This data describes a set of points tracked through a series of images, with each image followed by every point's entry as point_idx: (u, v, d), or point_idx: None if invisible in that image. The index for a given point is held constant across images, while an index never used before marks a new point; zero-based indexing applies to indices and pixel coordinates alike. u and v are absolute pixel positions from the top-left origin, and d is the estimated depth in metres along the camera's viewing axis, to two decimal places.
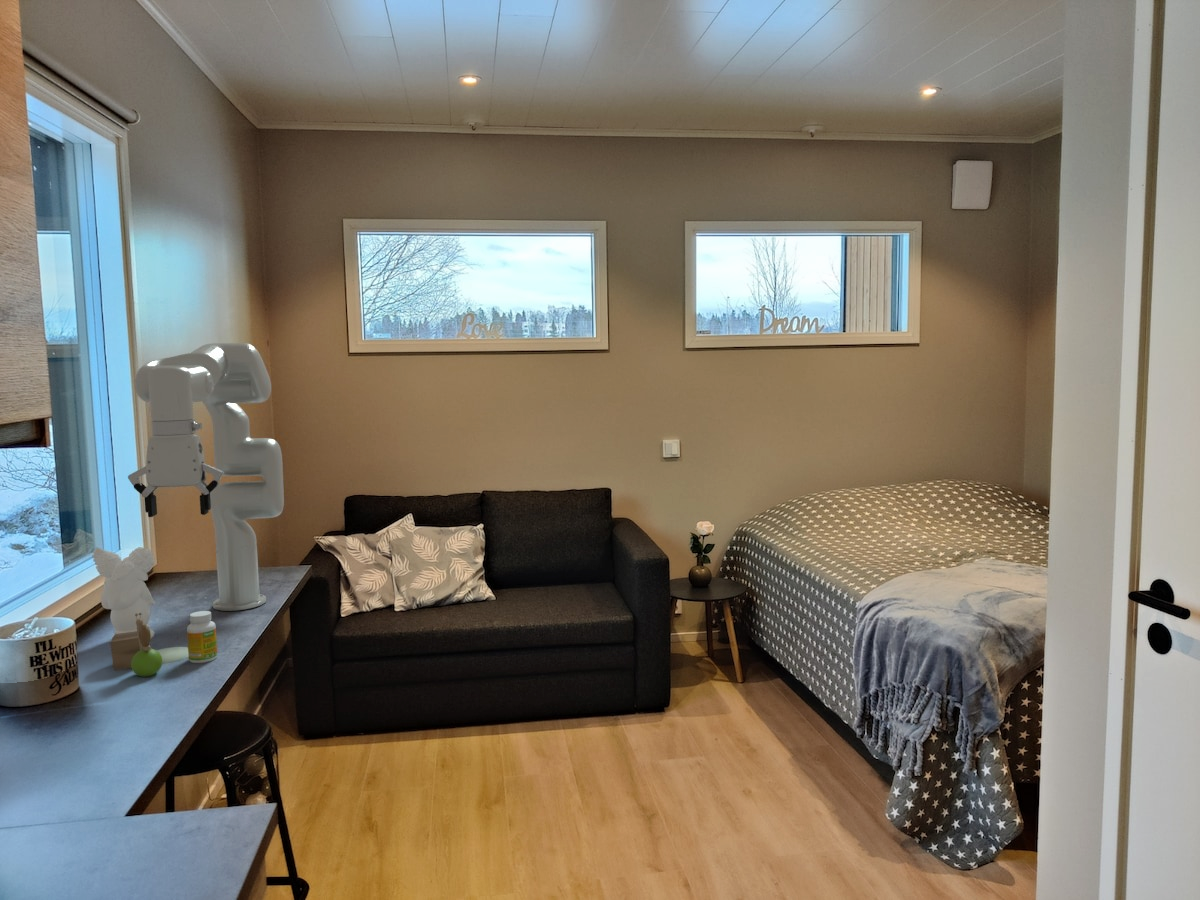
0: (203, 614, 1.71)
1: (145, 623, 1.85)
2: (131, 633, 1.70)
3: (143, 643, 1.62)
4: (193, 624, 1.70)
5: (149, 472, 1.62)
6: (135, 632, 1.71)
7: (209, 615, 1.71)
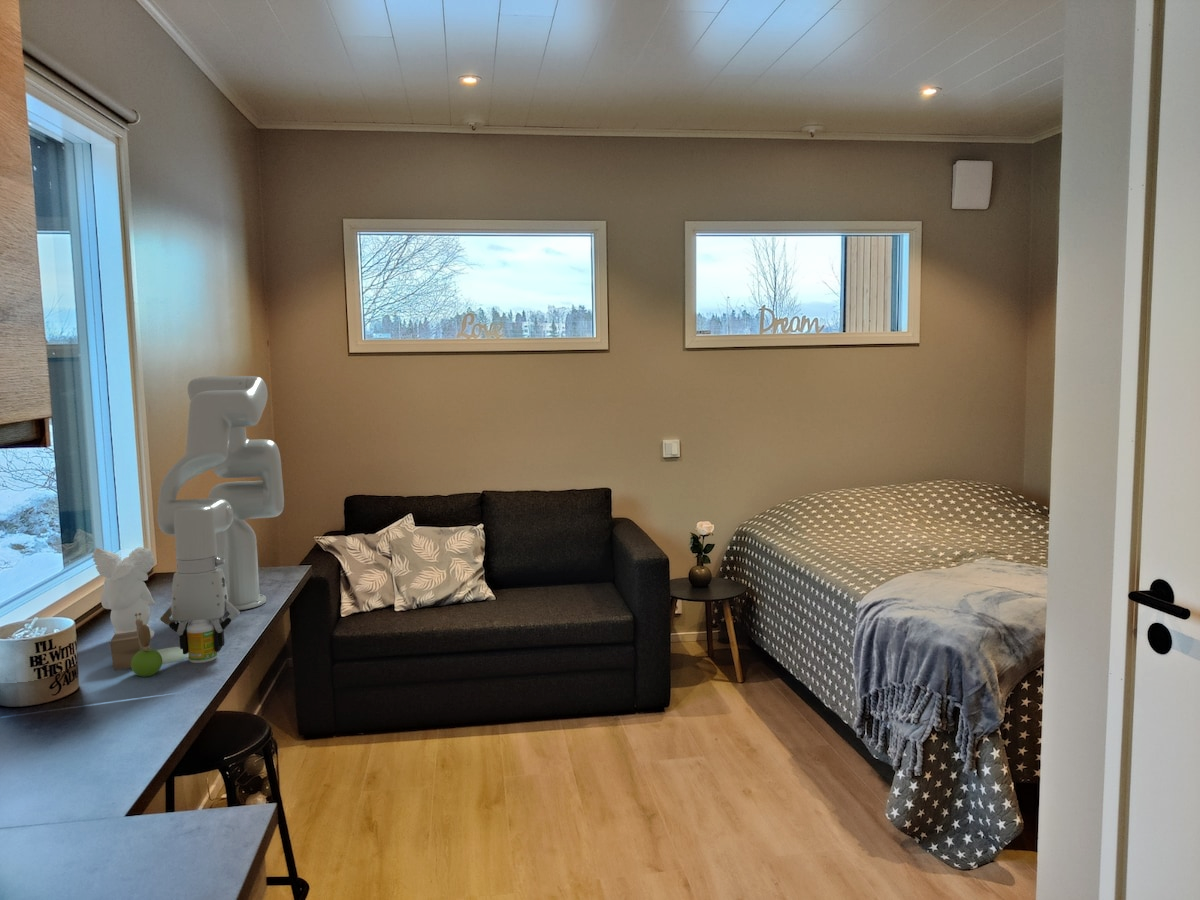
0: None
1: (145, 623, 1.85)
2: (131, 633, 1.70)
3: (143, 643, 1.62)
4: (193, 624, 1.70)
5: (174, 608, 1.68)
6: (135, 632, 1.71)
7: None
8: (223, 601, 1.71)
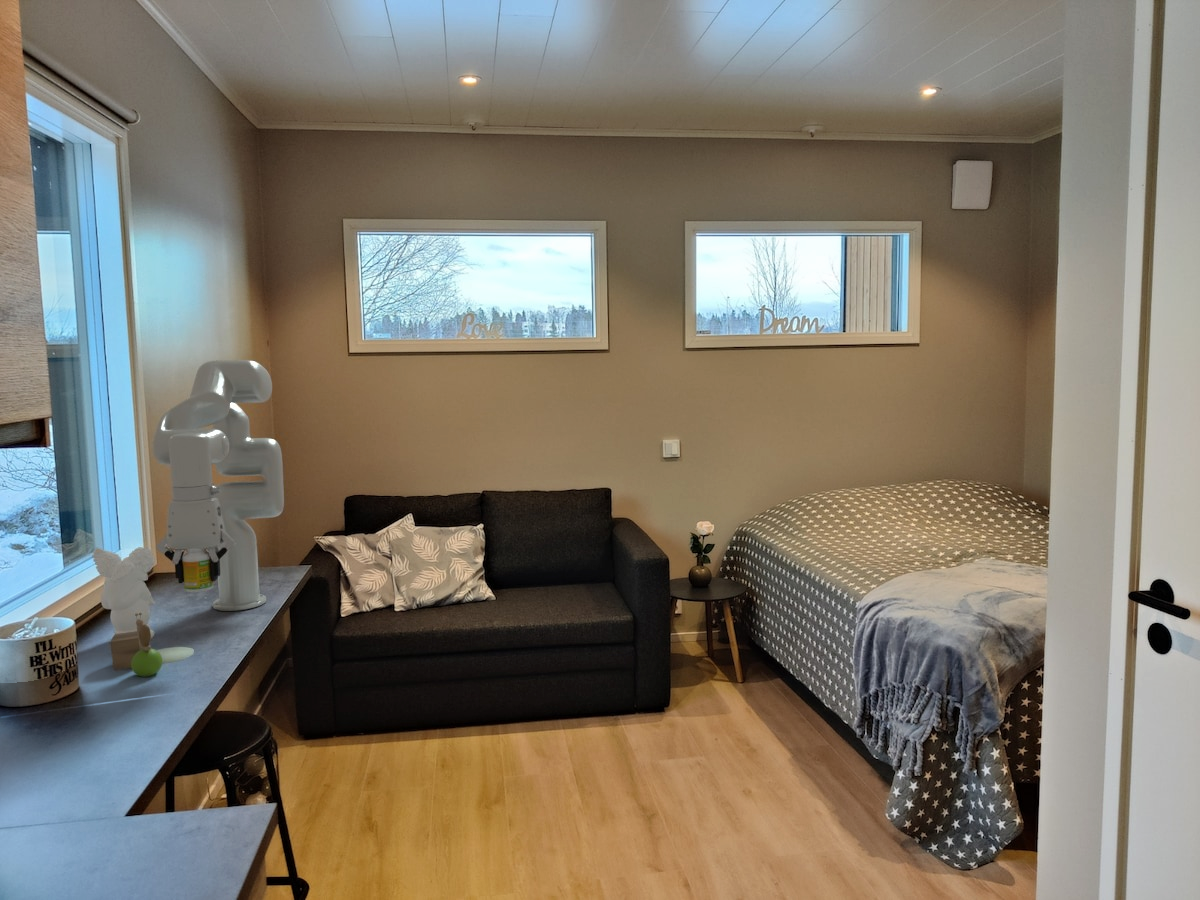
0: None
1: (145, 623, 1.85)
2: (131, 633, 1.70)
3: (143, 643, 1.62)
4: (189, 553, 1.69)
5: (170, 536, 1.67)
6: (135, 632, 1.71)
7: None
8: (219, 530, 1.69)
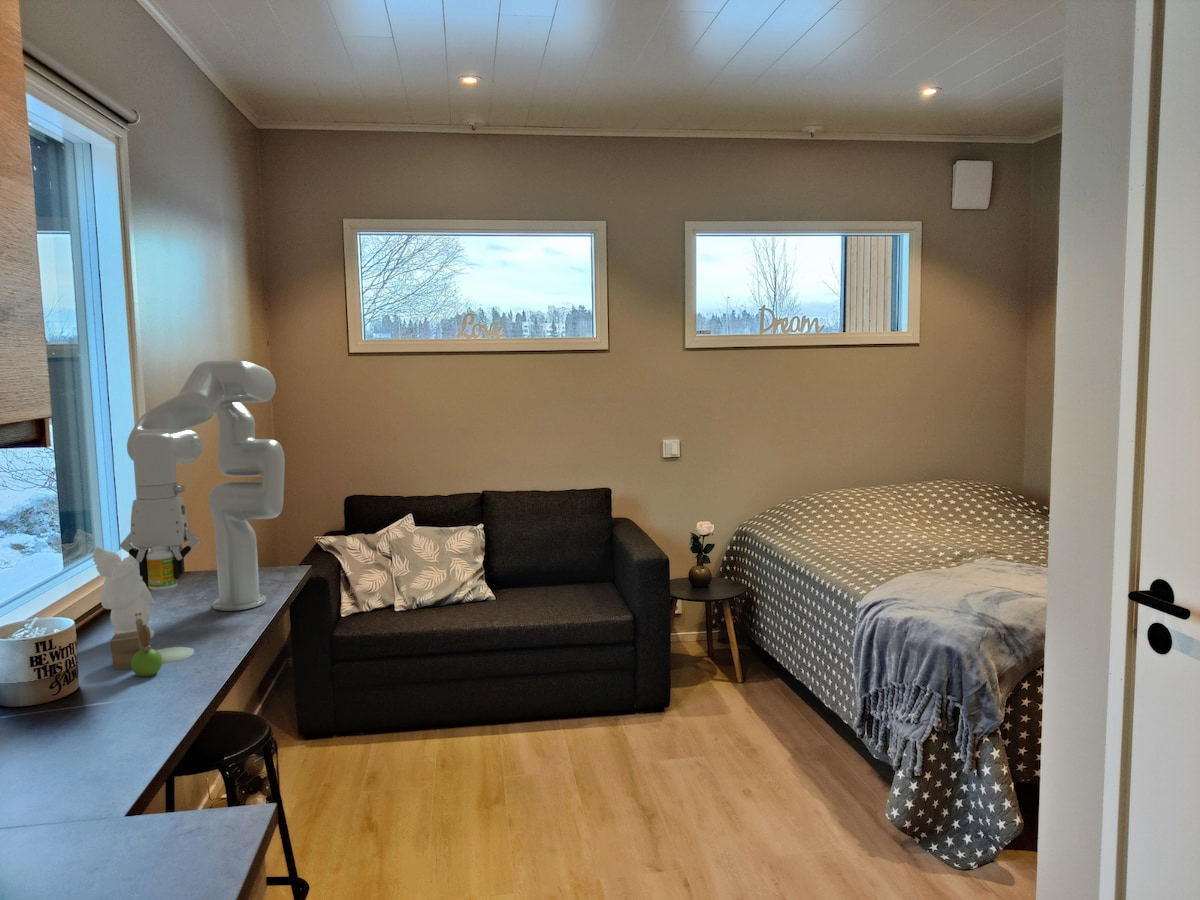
0: None
1: (145, 623, 1.85)
2: (131, 633, 1.70)
3: (143, 643, 1.62)
4: (152, 551, 1.71)
5: (133, 534, 1.69)
6: (135, 632, 1.71)
7: None
8: (182, 528, 1.71)
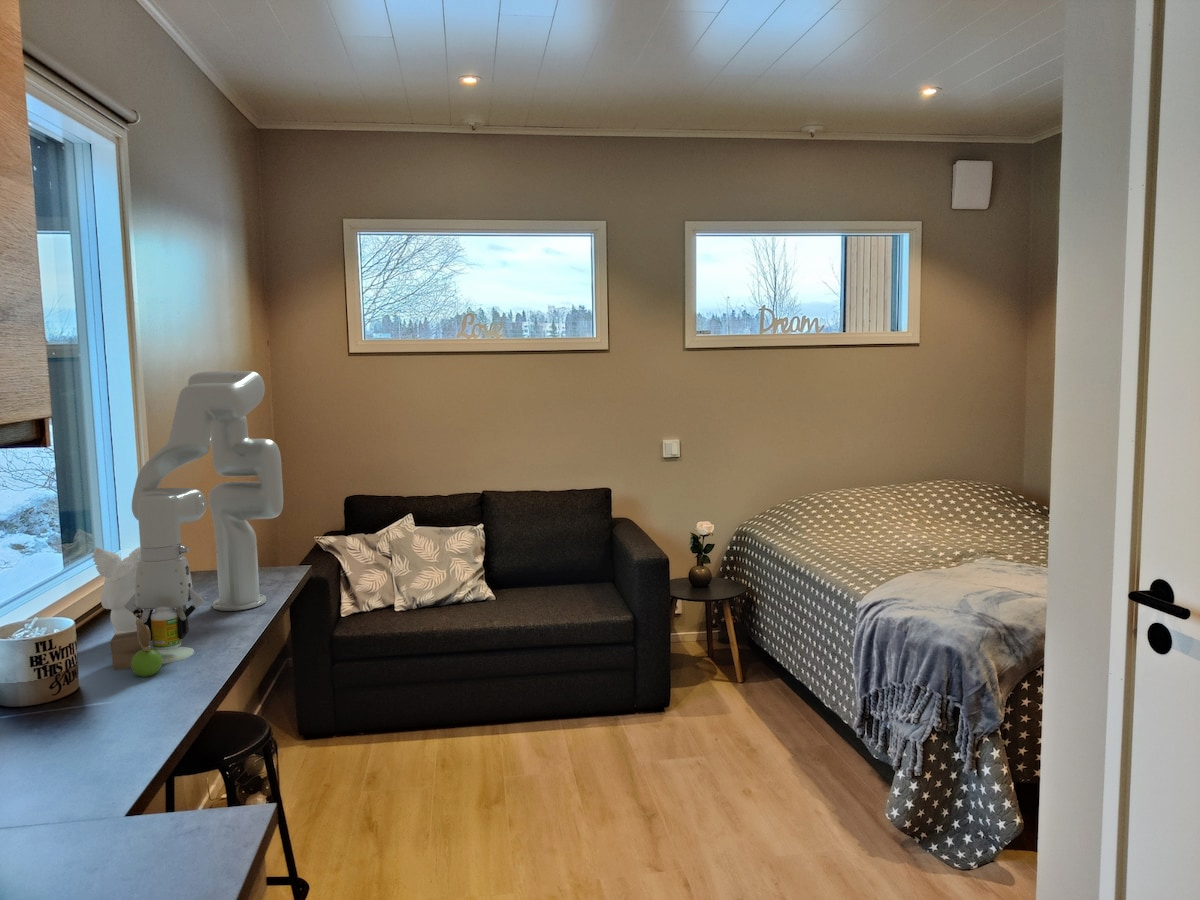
0: None
1: None
2: (131, 633, 1.70)
3: (143, 643, 1.62)
4: (157, 612, 1.72)
5: (138, 595, 1.70)
6: (135, 632, 1.71)
7: None
8: (187, 589, 1.73)
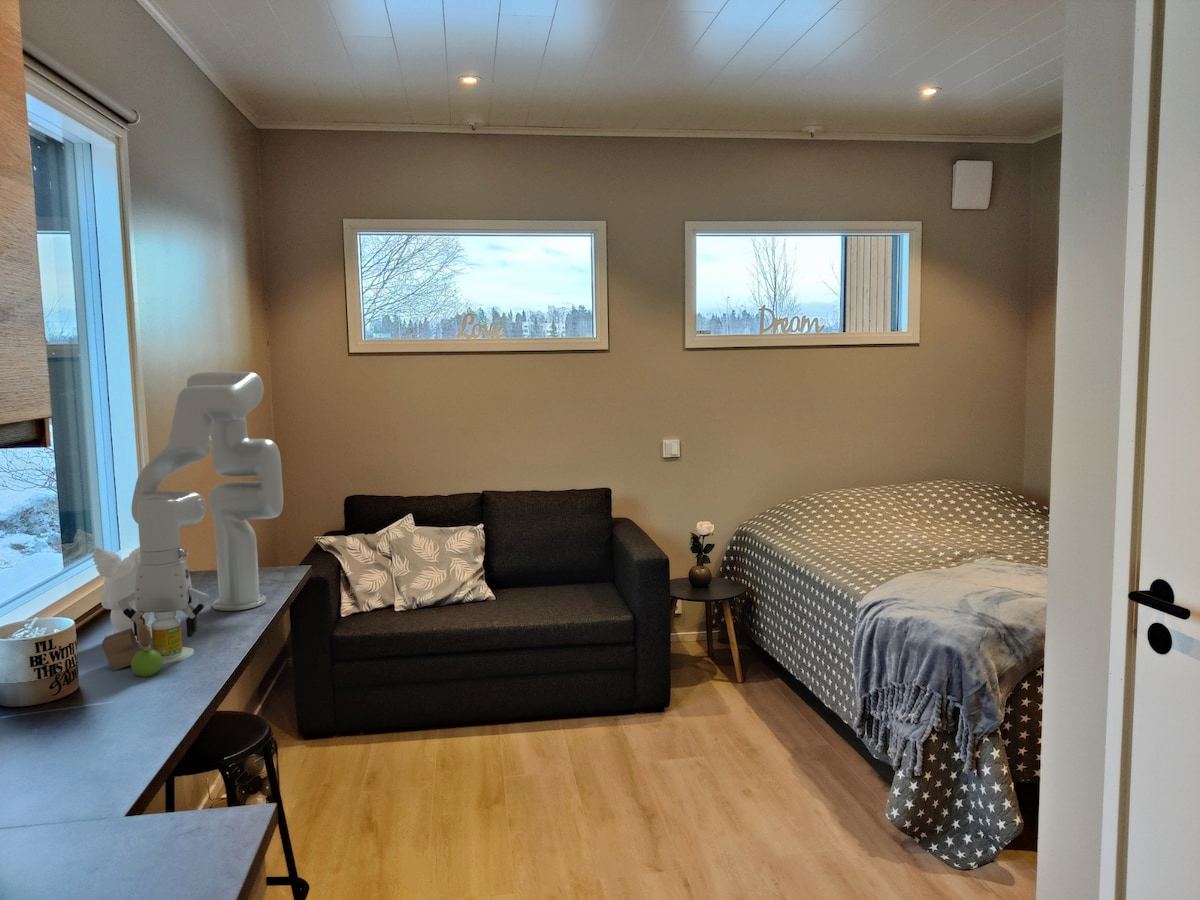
0: None
1: (145, 623, 1.85)
2: (121, 632, 1.69)
3: (143, 643, 1.62)
4: (157, 621, 1.72)
5: (138, 599, 1.70)
6: (125, 631, 1.70)
7: (173, 612, 1.73)
8: (186, 592, 1.73)
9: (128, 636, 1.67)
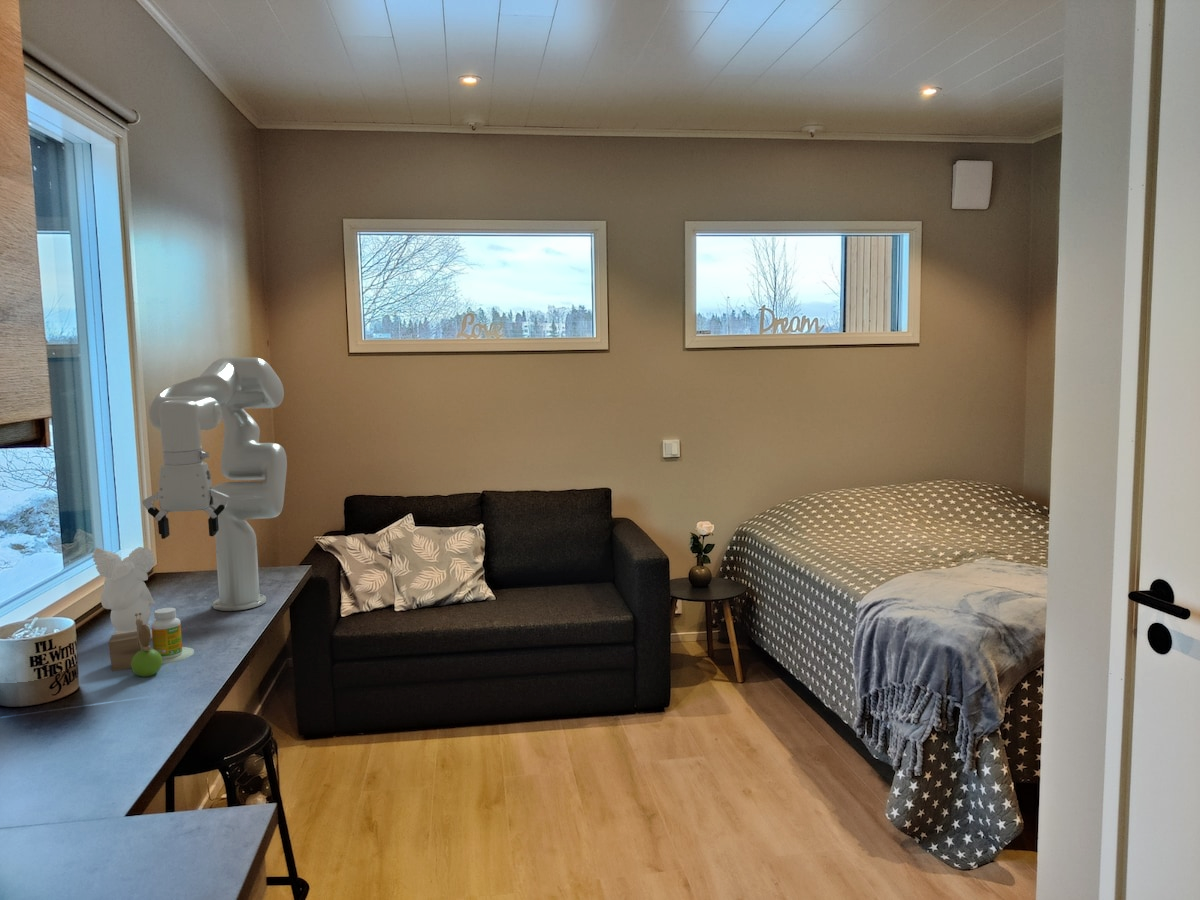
0: (168, 610, 1.73)
1: (145, 623, 1.85)
2: (128, 634, 1.70)
3: (143, 643, 1.62)
4: (157, 620, 1.72)
5: (161, 498, 1.76)
6: (133, 633, 1.70)
7: (173, 611, 1.73)
8: (208, 493, 1.78)
9: (135, 639, 1.67)
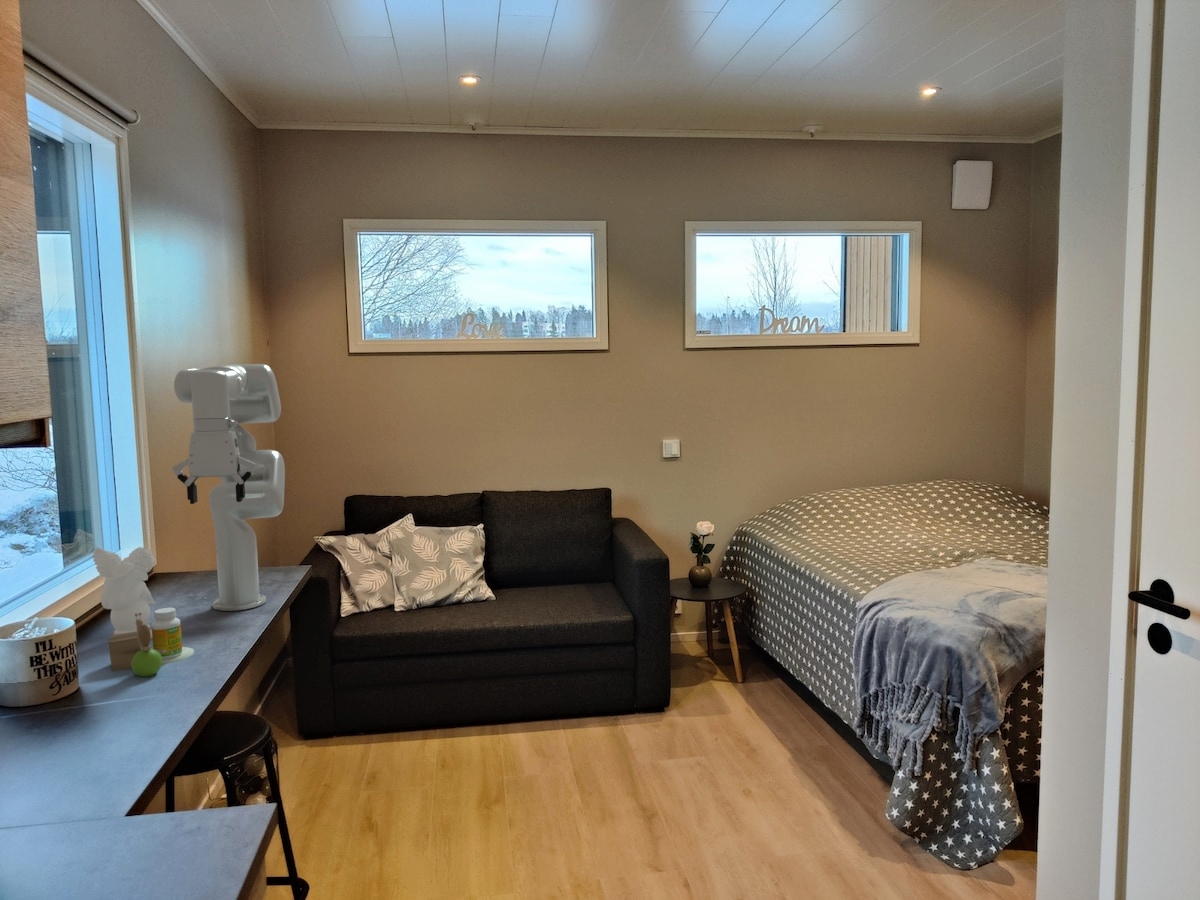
0: (167, 610, 1.73)
1: (145, 623, 1.85)
2: (128, 634, 1.70)
3: (143, 643, 1.62)
4: (157, 621, 1.72)
5: (191, 464, 1.83)
6: (133, 633, 1.70)
7: (173, 612, 1.73)
8: (236, 459, 1.85)
9: (135, 639, 1.67)
